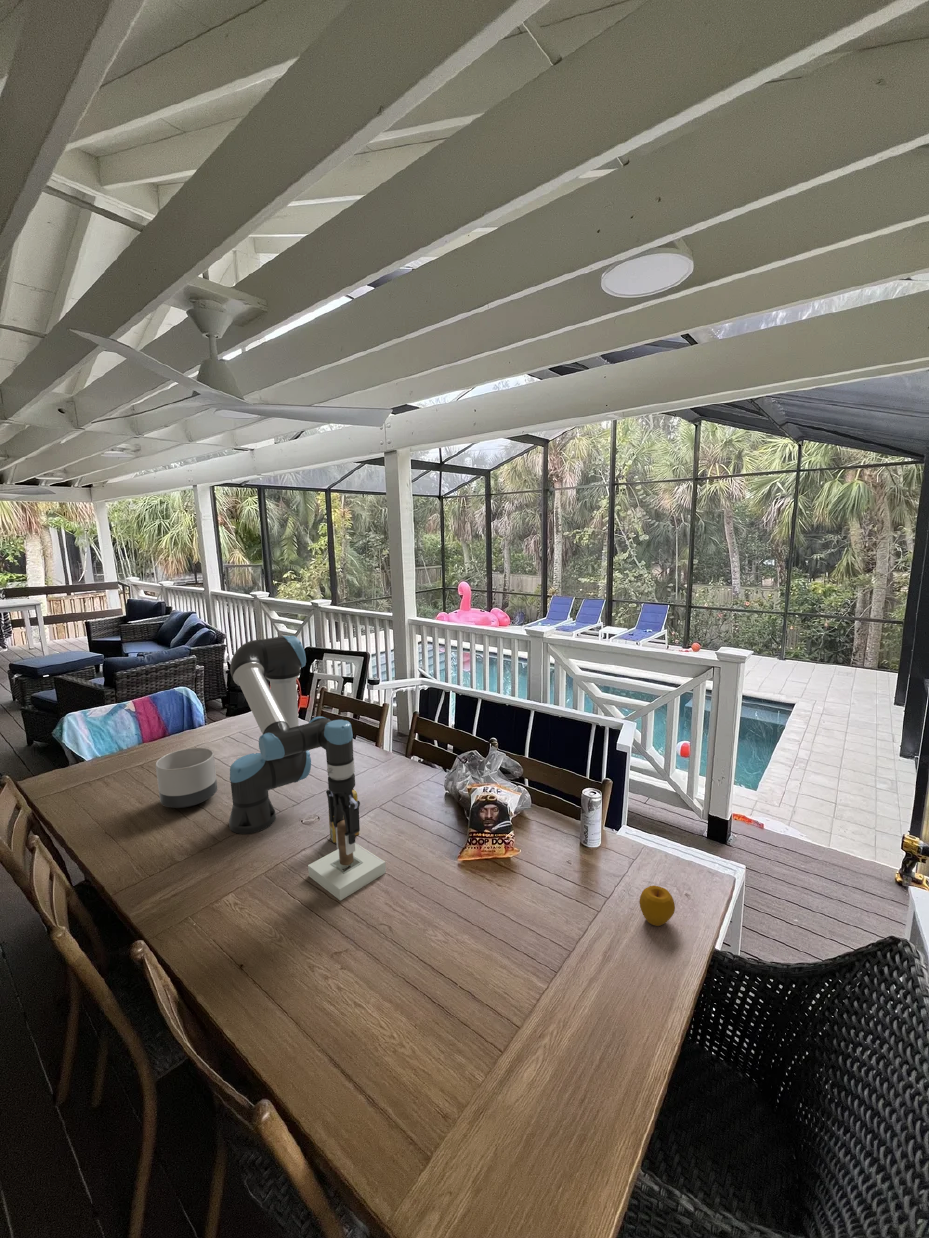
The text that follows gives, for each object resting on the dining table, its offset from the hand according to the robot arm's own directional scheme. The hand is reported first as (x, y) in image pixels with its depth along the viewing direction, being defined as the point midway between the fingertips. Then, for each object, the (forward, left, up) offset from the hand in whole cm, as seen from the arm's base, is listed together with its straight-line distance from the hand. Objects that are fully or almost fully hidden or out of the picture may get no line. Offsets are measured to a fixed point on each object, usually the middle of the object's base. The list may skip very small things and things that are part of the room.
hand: (346, 849), depth 155 cm
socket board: (0, 0, -8) cm, 8 cm away
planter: (-81, -14, -8) cm, 83 cm away
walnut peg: (0, 0, -4) cm, 4 cm away
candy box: (-17, +11, -8) cm, 22 cm away
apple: (+76, +41, -8) cm, 87 cm away
